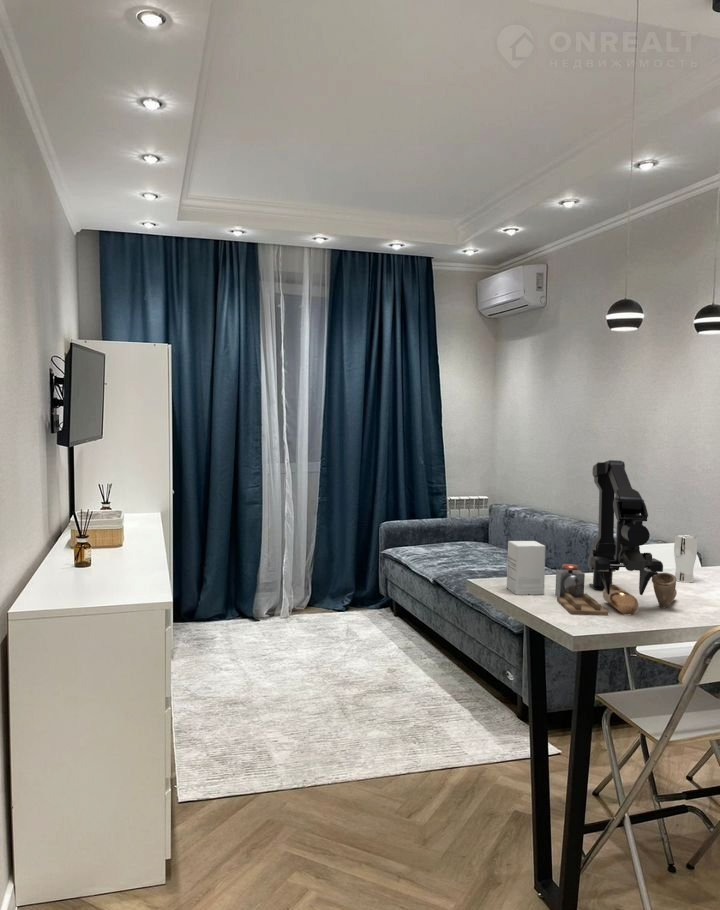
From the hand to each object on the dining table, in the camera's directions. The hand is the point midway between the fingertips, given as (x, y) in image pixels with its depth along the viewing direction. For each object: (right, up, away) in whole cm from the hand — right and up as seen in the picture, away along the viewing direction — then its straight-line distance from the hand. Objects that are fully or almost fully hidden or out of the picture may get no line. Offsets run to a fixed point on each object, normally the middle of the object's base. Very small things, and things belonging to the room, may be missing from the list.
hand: (624, 594), depth 195 cm
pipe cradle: (-12, -4, 0) cm, 13 cm away
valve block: (-12, -3, +12) cm, 17 cm away
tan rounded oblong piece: (0, -4, 0) cm, 4 cm away
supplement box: (-24, -3, +17) cm, 30 cm away
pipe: (+14, -4, +5) cm, 16 cm away
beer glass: (+34, -3, +38) cm, 51 cm away
